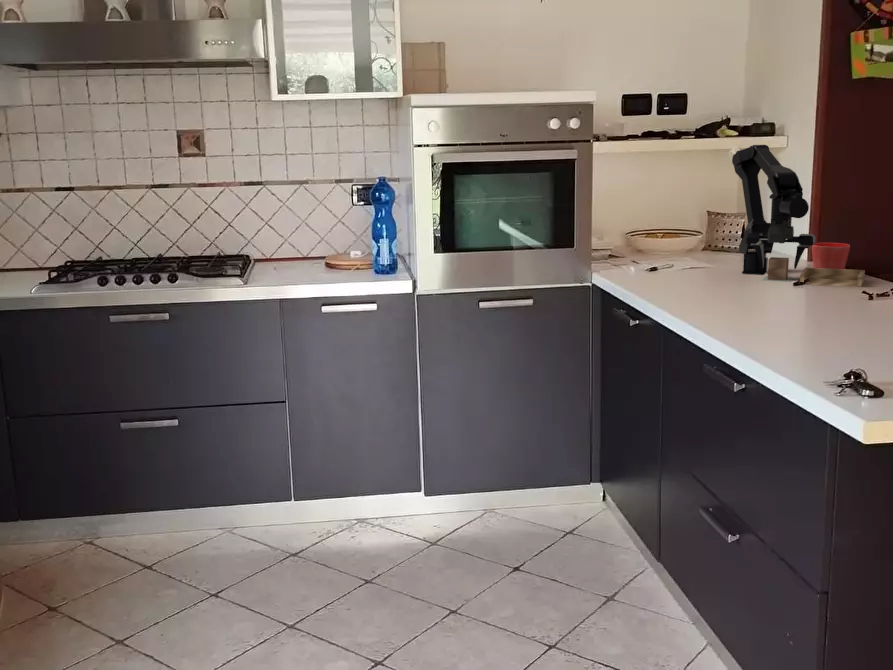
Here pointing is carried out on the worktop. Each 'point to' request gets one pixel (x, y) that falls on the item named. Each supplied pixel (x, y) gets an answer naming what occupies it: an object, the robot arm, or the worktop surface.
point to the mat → (778, 280)
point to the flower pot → (830, 255)
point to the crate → (833, 277)
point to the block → (778, 268)
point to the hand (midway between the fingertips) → (778, 268)
